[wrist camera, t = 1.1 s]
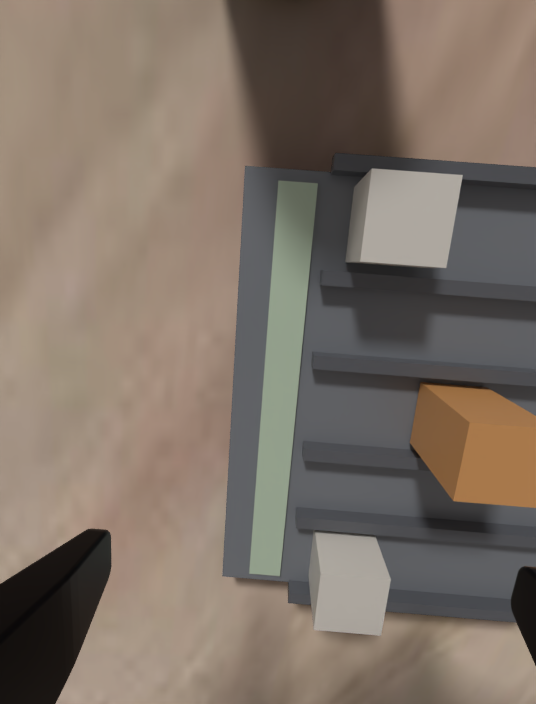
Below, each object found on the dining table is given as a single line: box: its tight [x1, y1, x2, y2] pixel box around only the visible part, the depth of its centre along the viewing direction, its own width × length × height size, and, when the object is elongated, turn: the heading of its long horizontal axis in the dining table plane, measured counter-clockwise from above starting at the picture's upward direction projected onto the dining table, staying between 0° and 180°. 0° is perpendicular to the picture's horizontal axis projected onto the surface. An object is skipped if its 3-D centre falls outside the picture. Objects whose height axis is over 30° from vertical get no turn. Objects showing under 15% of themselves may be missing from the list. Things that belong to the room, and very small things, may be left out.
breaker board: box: [222, 153, 536, 636], centre depth 17 cm, size 20×21×5 cm
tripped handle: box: [410, 382, 536, 508], centre depth 15 cm, size 3×3×4 cm
